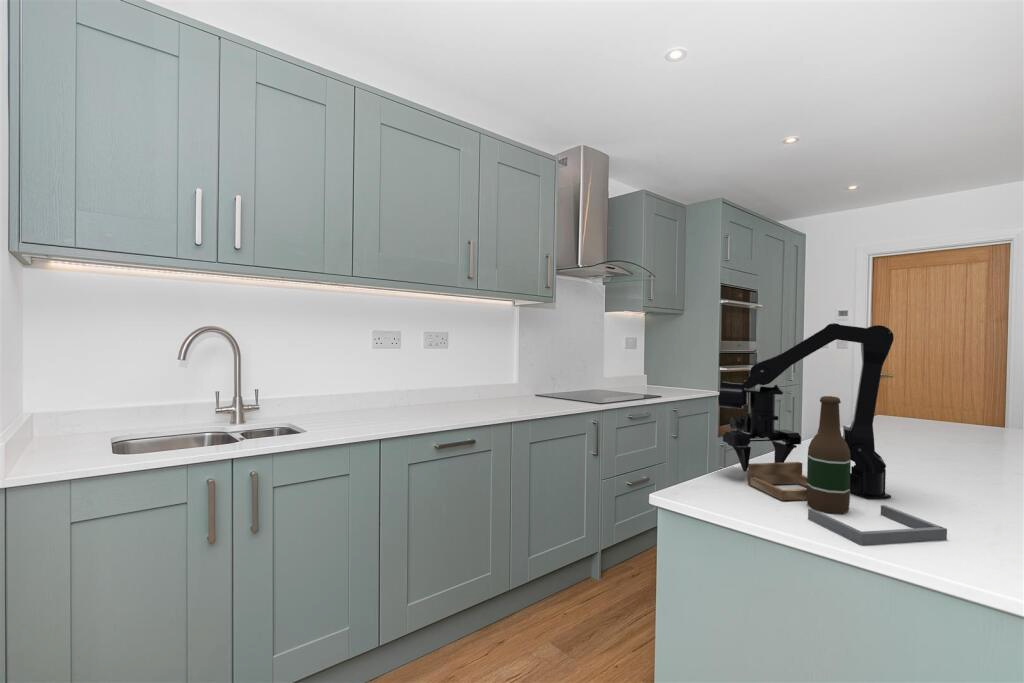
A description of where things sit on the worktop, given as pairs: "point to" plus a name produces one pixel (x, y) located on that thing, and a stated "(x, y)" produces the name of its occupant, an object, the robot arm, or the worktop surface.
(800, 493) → the brown wooden frame
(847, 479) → the beer bottle
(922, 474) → the worktop surface
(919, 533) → the tray bay
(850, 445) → the robot arm
